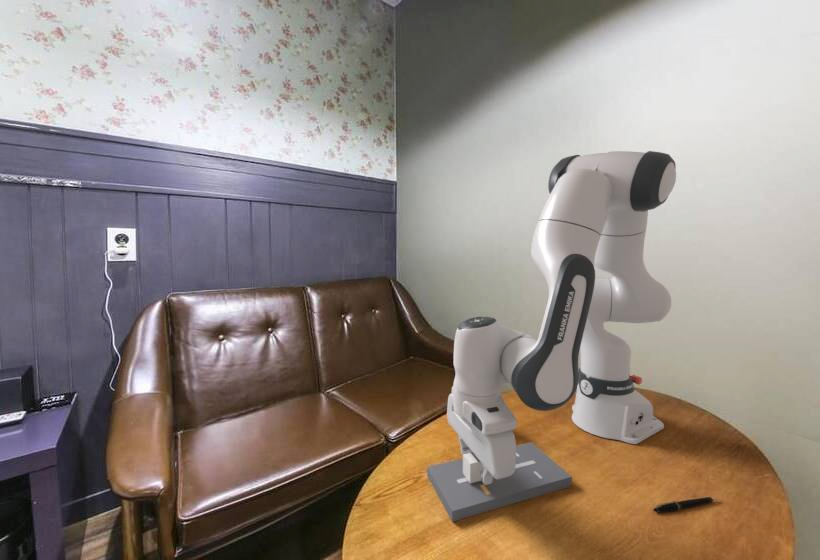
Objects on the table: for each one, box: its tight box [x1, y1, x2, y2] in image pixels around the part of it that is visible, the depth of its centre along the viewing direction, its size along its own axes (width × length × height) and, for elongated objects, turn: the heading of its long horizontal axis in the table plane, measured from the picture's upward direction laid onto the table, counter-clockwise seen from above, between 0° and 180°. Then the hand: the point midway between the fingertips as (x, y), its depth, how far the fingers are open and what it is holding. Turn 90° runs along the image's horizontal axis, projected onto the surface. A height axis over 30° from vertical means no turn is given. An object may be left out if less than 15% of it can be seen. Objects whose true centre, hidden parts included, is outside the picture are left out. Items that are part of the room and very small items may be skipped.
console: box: [426, 441, 573, 523], centre depth 65 cm, size 26×12×2 cm, turn 108°
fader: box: [462, 452, 485, 483], centre depth 63 cm, size 4×3×4 cm
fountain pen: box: [652, 496, 718, 513], centre depth 58 cm, size 14×1×2 cm, turn 101°
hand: (475, 468), depth 63 cm, fingers open, 6 cm apart
